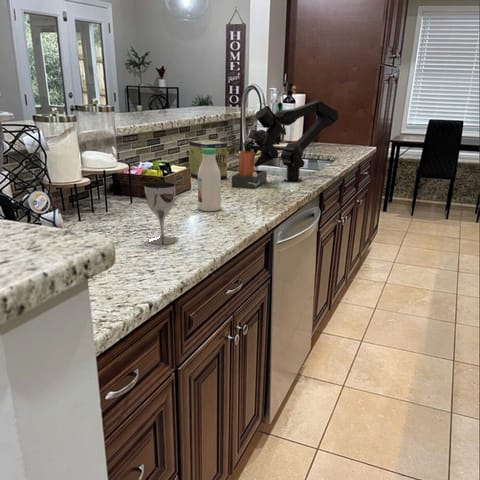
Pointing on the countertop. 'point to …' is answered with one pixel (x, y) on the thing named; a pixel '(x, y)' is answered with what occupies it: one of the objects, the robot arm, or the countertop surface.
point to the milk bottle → (209, 182)
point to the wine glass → (160, 206)
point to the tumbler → (246, 163)
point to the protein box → (197, 157)
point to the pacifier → (254, 176)
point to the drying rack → (249, 180)
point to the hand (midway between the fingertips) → (248, 165)
